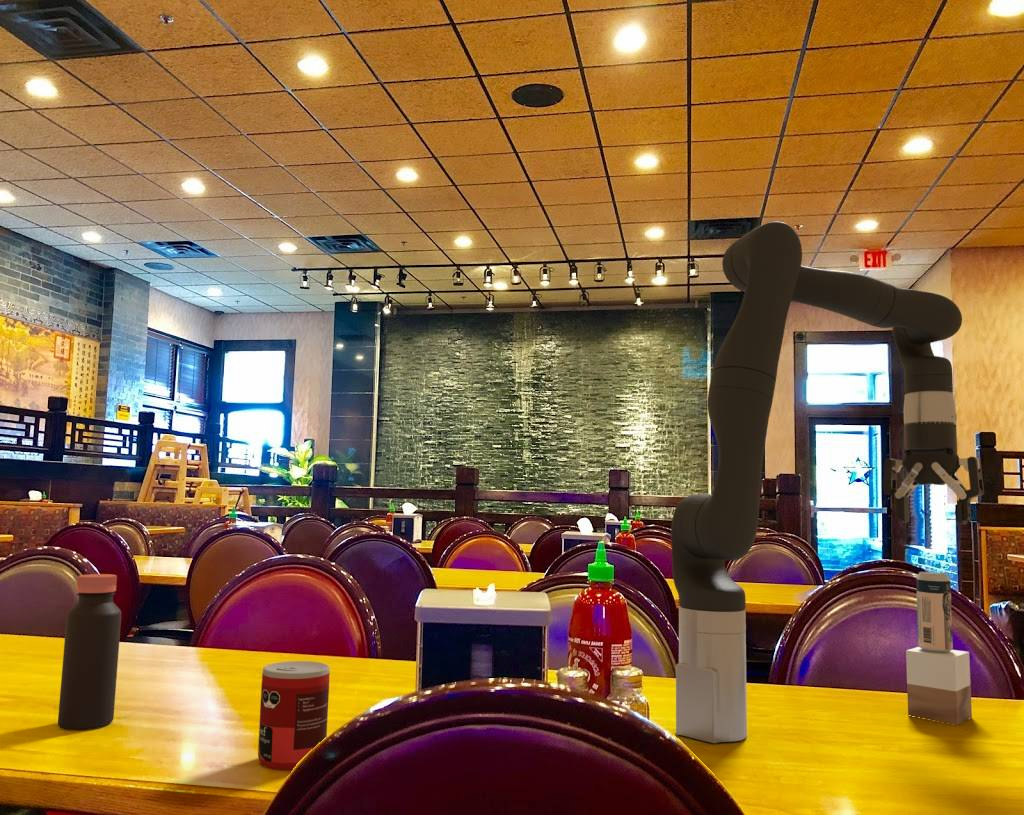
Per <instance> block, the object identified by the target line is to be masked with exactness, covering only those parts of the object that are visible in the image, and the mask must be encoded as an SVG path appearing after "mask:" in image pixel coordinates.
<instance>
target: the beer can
mask: <svg viewBox="0 0 1024 815" xmlns="http://www.w3.org/2000/svg"><path fill="white" fill-rule="evenodd" d="M915 582H916V583H915V584H916V608H917V609H916V610H917V612H916V613H917V616H916V617H917V642H918V643H917V645H918V646H917V647H920V648H921V649H923V650H924V651H927V652H934V653H948V652H949V651H951V650H954V646H953V645H954V644H953V619H952V618H953V616H952V615H953V614H952V613H953V612H952V591H951V590H952V588H951V587H952V585H951V578H950V577H949V575H948V573H945V572H938V571H937V572H935V571H919V572H918V575H917V576H916V581H915Z"/></svg>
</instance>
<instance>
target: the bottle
mask: <svg viewBox="0 0 1024 815" xmlns="http://www.w3.org/2000/svg"><path fill="white" fill-rule="evenodd" d="M76 581H77V582H76V592H77V593H76V596H77V597H78V599H77V600H78V602H77V603H76V604H75V605H74V606H73V607H72V608H71V609H70V610H69V611H68V612H67V614H66V618H65V629H64V630H65V632H64V644H63V657H62V665H61V666H62V669H61V670H62V671H61V682H60V692H59V703H58V715H57V726H58V727H59V729H62V730H67V731H68V730H69V731H89V730H94V729H99V728H102V727H105V726H108V725H111V724H112V722H113V721H114V717H115V702H116V691H117V690H116V689H117V679H118V678H117V676H118V665H119V664H118V663H119V651H120V650H119V649H120V639H121V627H122V626H121V625H122V610H121V609H120V608H119V607H118V606H117V604H116V603H115V602H114V601H113V600H114V599H113V598H114V596H115V595H116V593H115V592H116V591H117V581H118V576H117V575H116V574H111V573H110V574H109V573H106V574H105V573H95V574H82V575H78V576H77V580H76Z"/></svg>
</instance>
